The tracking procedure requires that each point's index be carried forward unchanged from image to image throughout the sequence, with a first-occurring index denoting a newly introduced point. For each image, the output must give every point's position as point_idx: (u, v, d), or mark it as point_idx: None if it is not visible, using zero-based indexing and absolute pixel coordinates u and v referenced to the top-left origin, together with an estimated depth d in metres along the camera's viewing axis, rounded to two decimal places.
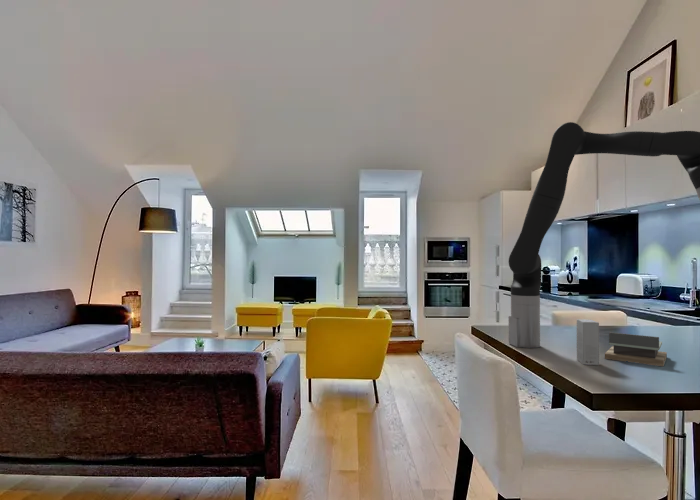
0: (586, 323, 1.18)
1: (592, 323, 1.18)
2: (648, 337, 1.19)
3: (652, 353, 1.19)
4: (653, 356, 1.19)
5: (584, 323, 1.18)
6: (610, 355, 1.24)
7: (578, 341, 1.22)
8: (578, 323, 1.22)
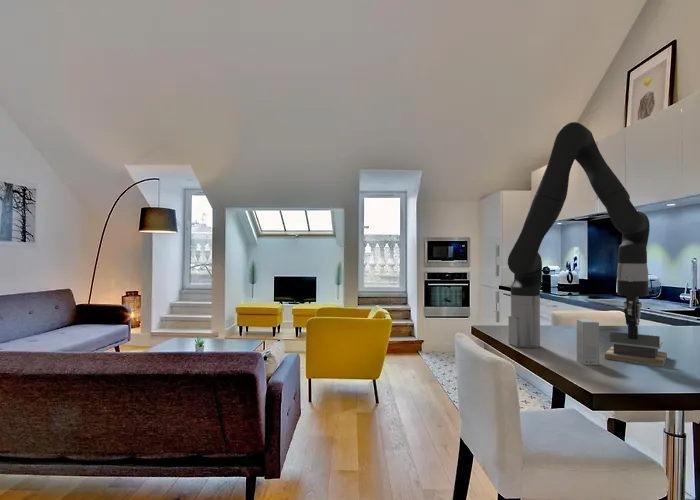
0: (586, 323, 1.18)
1: (592, 323, 1.18)
2: (649, 336, 1.20)
3: (652, 353, 1.19)
4: (653, 356, 1.19)
5: (584, 323, 1.18)
6: (610, 355, 1.24)
7: (578, 341, 1.22)
8: (578, 323, 1.22)
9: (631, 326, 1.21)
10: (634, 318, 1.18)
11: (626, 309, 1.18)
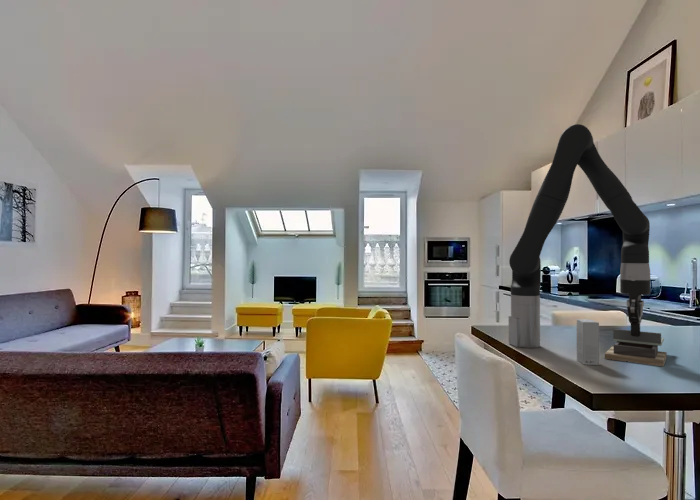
0: (586, 323, 1.18)
1: (592, 323, 1.18)
2: (651, 333, 1.25)
3: (652, 353, 1.19)
4: (653, 356, 1.19)
5: (584, 323, 1.18)
6: (610, 355, 1.24)
7: (578, 341, 1.22)
8: (578, 323, 1.22)
9: (634, 324, 1.25)
10: (637, 316, 1.22)
11: (629, 307, 1.22)
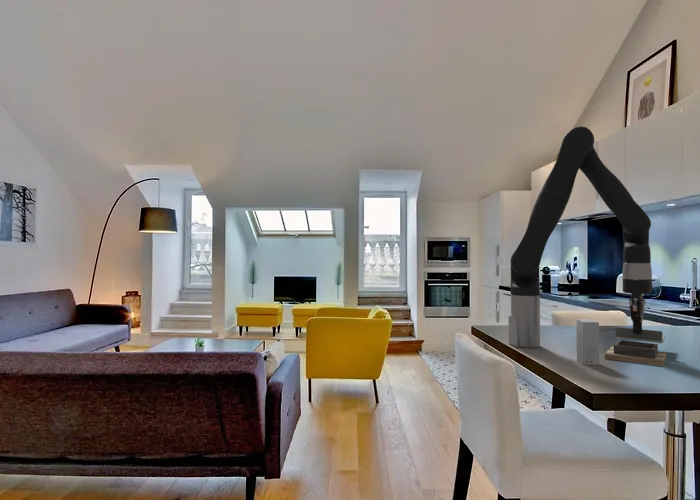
0: (586, 323, 1.18)
1: (592, 323, 1.18)
2: (652, 331, 1.29)
3: (652, 353, 1.19)
4: (653, 356, 1.19)
5: (584, 323, 1.18)
6: (610, 355, 1.24)
7: (578, 341, 1.22)
8: (578, 323, 1.22)
9: (636, 322, 1.29)
10: (639, 314, 1.26)
11: (631, 306, 1.26)
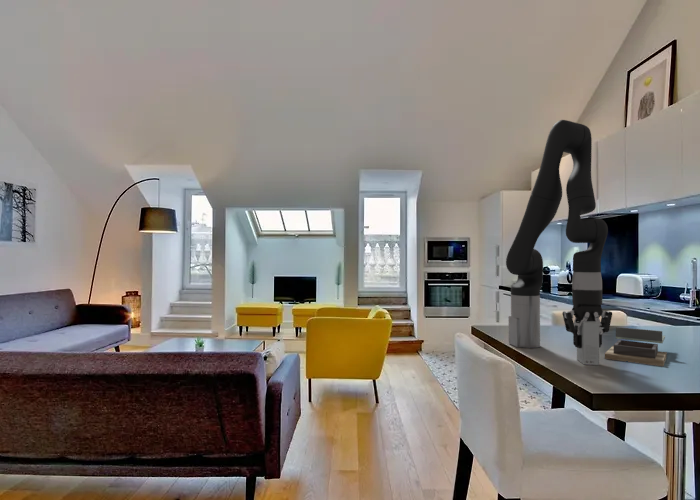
0: (586, 323, 1.18)
1: (592, 323, 1.18)
2: (652, 331, 1.29)
3: (652, 353, 1.19)
4: (653, 356, 1.19)
5: (584, 323, 1.18)
6: (610, 355, 1.24)
7: None
8: None
9: (573, 334, 1.20)
10: (568, 322, 1.19)
11: (564, 311, 1.21)
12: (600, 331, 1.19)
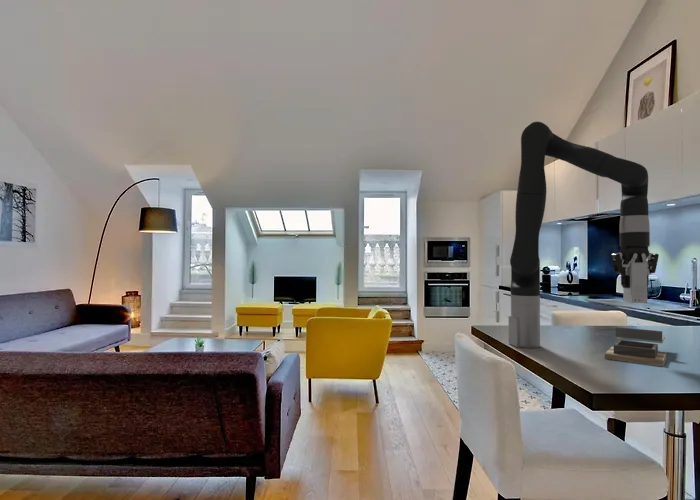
0: (634, 263, 1.24)
1: (640, 263, 1.23)
2: (652, 331, 1.29)
3: (652, 353, 1.19)
4: (653, 356, 1.19)
5: (632, 263, 1.24)
6: (610, 355, 1.24)
7: None
8: None
9: (621, 275, 1.26)
10: (617, 263, 1.25)
11: (612, 254, 1.27)
12: (647, 272, 1.25)
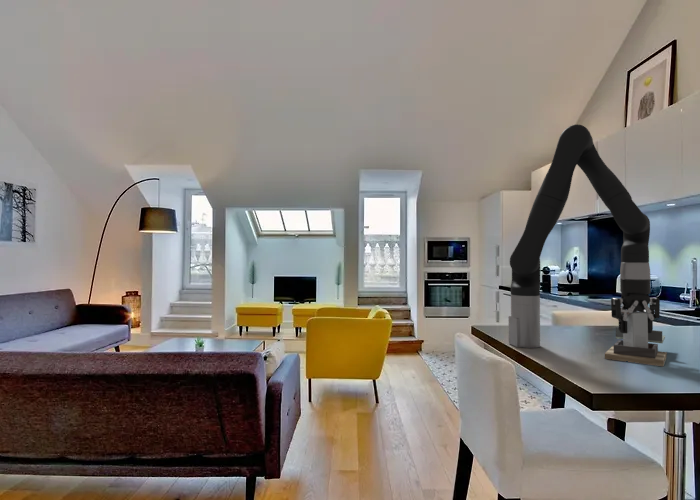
0: (635, 314, 1.23)
1: (641, 314, 1.23)
2: (652, 331, 1.29)
3: (652, 353, 1.19)
4: (653, 356, 1.19)
5: (634, 314, 1.23)
6: (610, 355, 1.24)
7: None
8: None
9: (619, 320, 1.26)
10: (616, 308, 1.25)
11: (613, 298, 1.26)
12: (651, 317, 1.25)
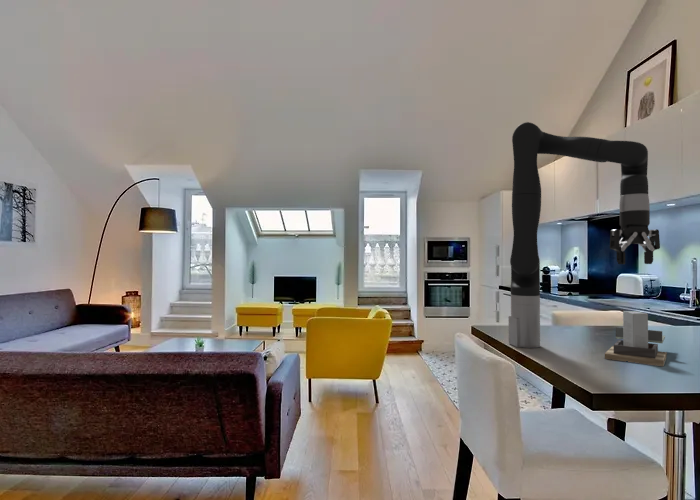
0: (636, 314, 1.23)
1: (641, 314, 1.23)
2: (652, 331, 1.29)
3: (652, 353, 1.19)
4: (653, 356, 1.19)
5: (634, 314, 1.23)
6: (610, 355, 1.24)
7: (626, 332, 1.27)
8: (626, 314, 1.27)
9: (617, 251, 1.26)
10: (615, 239, 1.25)
11: None
12: (652, 248, 1.26)
